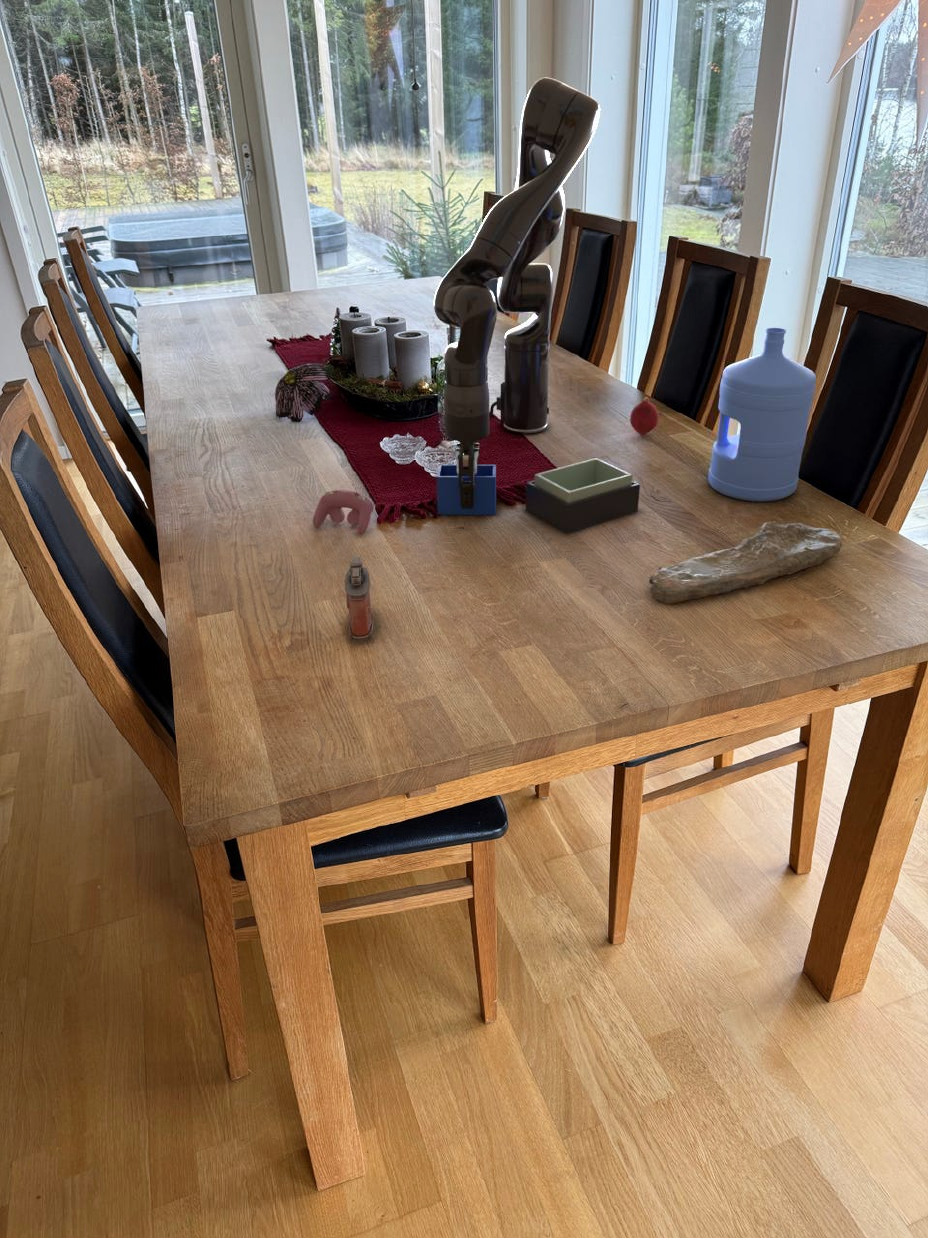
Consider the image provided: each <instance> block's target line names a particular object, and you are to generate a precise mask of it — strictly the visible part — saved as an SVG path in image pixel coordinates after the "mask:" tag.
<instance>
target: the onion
mask: <svg viewBox="0 0 928 1238" xmlns="http://www.w3.org/2000/svg"><path fill="white" fill-rule="evenodd" d="M629 423H630V425H631V428H633V430H634V431H635V432H636V433H638V434H639V435H640V436H645V435H647V434H648V433H650V432H651V431H653V430H654V429H655V428H656V426H657V425H658V423H659V412H658V409H657V408H656V406H655V405H654V404H653V403H651V402H650V398H649V397H647V396H646V397H644V398H643V400H642V401H641V402H639V403H637V404H636V405H635V406H634V407H633V408H632V410H631V412H630V417H629Z"/></svg>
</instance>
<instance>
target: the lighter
mask: <svg viewBox="0 0 928 1238" xmlns="http://www.w3.org/2000/svg"><path fill="white" fill-rule="evenodd" d="M370 579H371V578H370V572H369V570H368V569H367V567H365V566H363V561H362V557H361V556H353V557H351V561H350V562H349V568H348V570H347V572H346V573H345V576H344V588H345V589H344V590H345V600H346V608H347V609H348V615H349V620H348V627H349V628H348V629H349V636H350V639H351V641H352V642H354V643H356V644H364V643H367V642H369V641H370V640H371V639H372V637H373V633H374V627H375V624H374V616H373V613H372V605H371V595H370V589H371V588H370V587H371V580H370Z"/></svg>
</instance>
